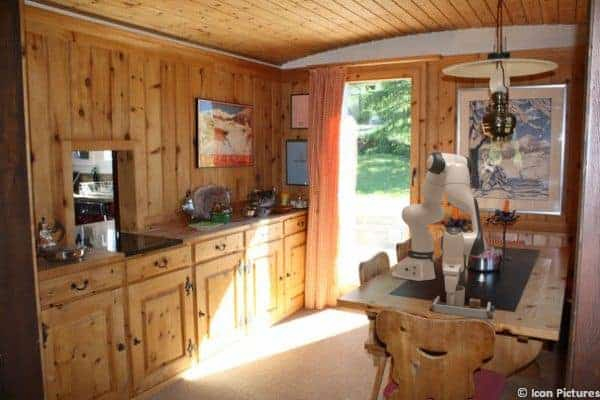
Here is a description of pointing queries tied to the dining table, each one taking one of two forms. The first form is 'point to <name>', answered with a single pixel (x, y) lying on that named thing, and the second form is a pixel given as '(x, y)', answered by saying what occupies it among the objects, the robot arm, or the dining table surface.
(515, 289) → the dining table surface
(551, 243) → the dining table surface
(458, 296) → the cup
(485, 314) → the cart frame
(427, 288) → the dining table surface
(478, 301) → the walnut block
